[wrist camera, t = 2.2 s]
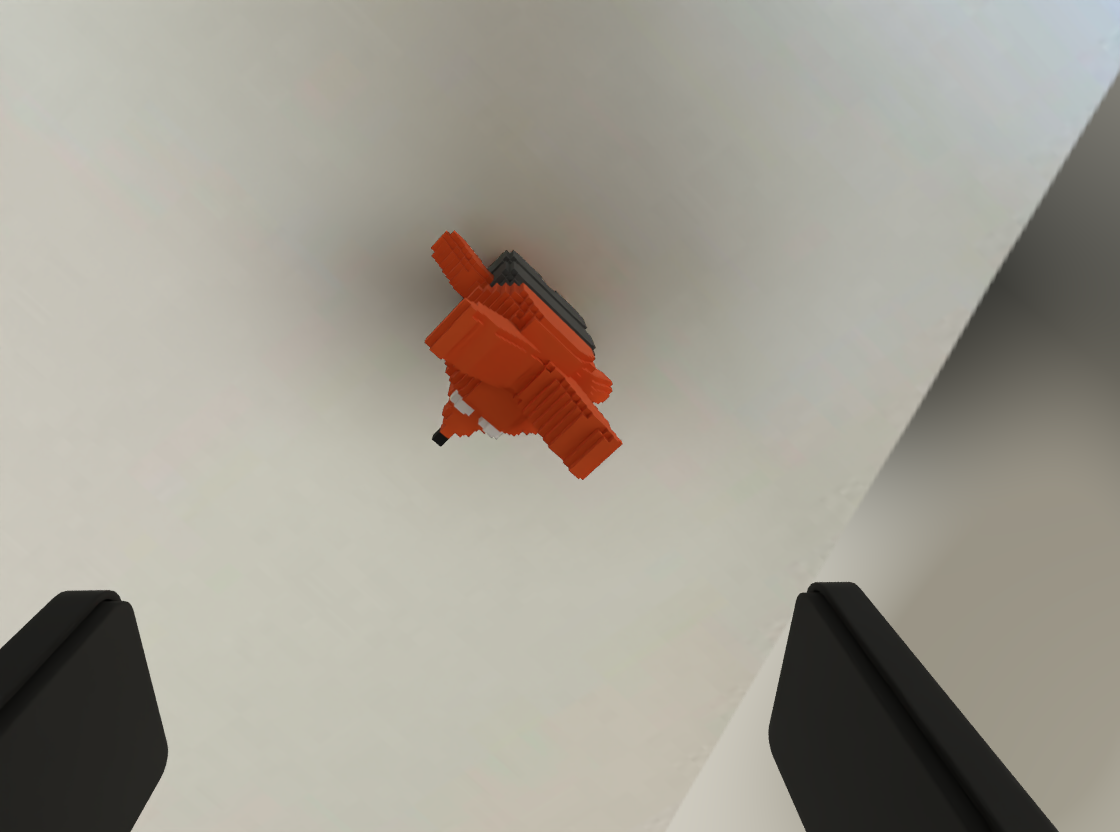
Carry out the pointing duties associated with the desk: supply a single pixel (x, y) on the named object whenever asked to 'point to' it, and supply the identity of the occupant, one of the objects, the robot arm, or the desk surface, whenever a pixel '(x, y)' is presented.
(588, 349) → the toy animal
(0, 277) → the desk surface
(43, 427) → the desk surface
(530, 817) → the desk surface
